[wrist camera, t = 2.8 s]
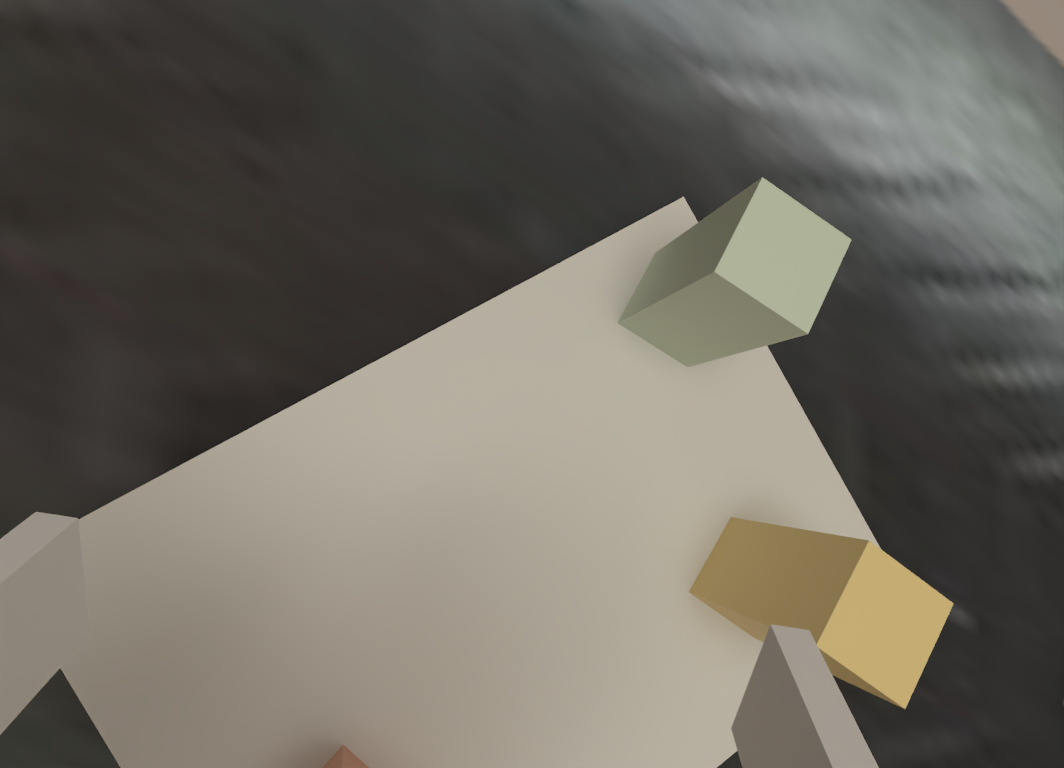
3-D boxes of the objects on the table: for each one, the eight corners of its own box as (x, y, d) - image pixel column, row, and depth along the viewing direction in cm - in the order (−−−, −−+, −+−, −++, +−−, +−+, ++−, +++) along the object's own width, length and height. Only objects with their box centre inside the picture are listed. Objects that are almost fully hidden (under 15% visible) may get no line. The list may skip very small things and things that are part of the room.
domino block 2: (758, 640, 35) (908, 711, 25) (688, 591, 34) (815, 646, 24) (797, 565, 36) (957, 606, 26) (730, 517, 35) (869, 540, 25)
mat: (321, 1084, 28) (320, 1098, 28) (4, 561, 28) (-4, 563, 27) (903, 602, 38) (911, 604, 37) (678, 200, 37) (683, 196, 36)
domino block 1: (690, 369, 35) (812, 336, 26) (617, 322, 35) (714, 271, 25) (725, 299, 36) (855, 242, 27) (655, 252, 36) (762, 177, 26)
